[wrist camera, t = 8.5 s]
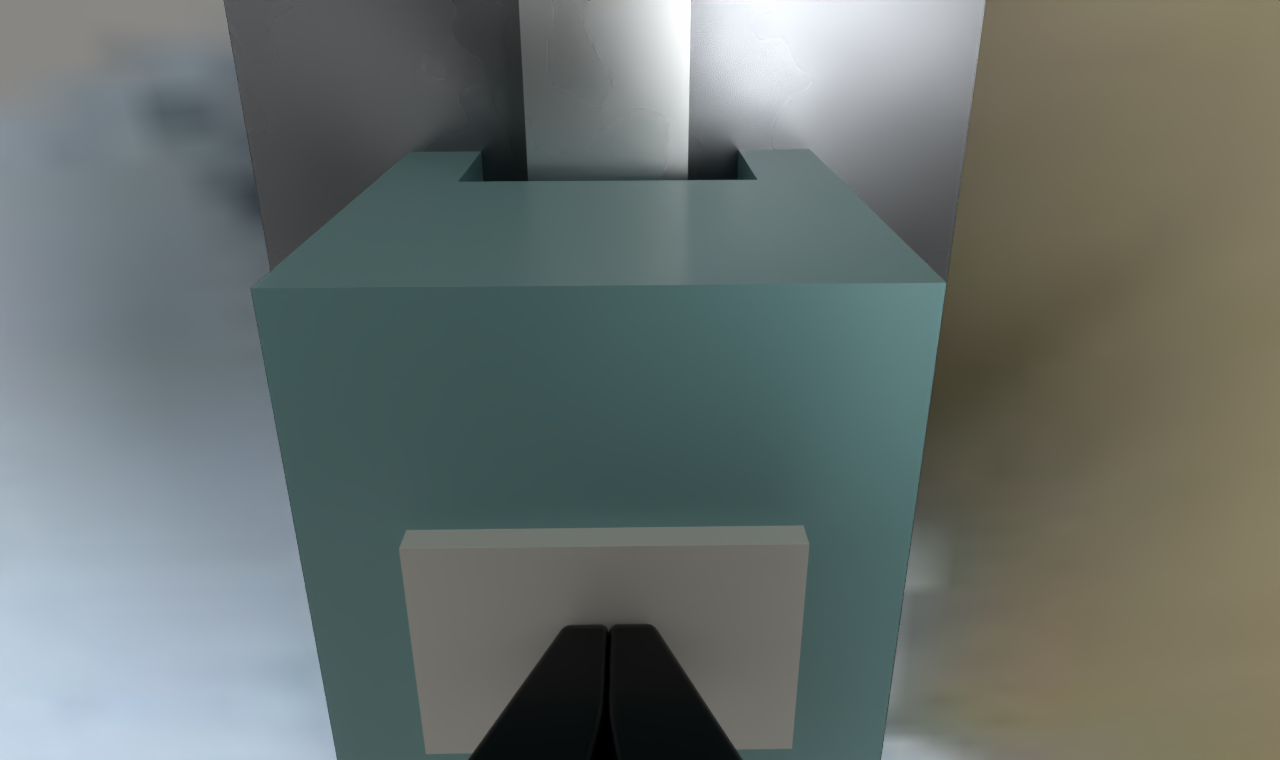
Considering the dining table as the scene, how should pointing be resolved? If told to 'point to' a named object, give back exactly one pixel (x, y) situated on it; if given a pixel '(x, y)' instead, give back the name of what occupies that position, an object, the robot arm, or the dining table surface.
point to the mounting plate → (474, 99)
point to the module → (603, 443)
